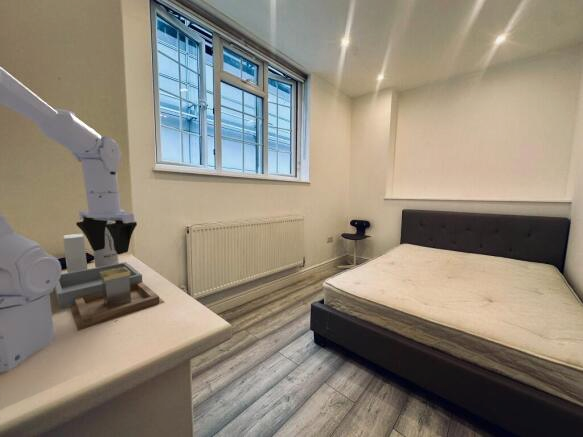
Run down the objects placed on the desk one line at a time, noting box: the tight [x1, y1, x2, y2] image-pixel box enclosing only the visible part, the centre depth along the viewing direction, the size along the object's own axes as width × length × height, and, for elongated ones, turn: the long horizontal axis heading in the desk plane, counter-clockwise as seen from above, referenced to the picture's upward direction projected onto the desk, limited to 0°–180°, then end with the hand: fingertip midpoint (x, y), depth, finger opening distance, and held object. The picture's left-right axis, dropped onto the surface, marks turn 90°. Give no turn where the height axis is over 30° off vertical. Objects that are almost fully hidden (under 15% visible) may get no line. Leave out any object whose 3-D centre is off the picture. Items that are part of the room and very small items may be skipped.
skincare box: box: [62, 233, 88, 273], centre depth 67 cm, size 6×4×12 cm
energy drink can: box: [93, 221, 120, 268], centre depth 74 cm, size 6×6×15 cm
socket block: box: [69, 281, 166, 332], centre depth 50 cm, size 14×14×2 cm
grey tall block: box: [100, 267, 131, 309], centre depth 50 cm, size 4×4×7 cm
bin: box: [53, 261, 143, 309], centre depth 58 cm, size 15×15×4 cm
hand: (110, 251), depth 54 cm, fingers open, 7 cm apart
